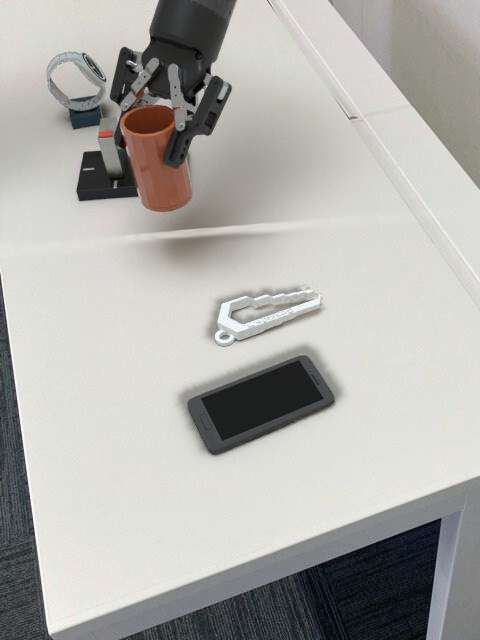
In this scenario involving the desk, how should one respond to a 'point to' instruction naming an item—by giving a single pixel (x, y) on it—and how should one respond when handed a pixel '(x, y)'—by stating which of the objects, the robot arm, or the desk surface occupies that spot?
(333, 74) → the desk surface
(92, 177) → the hob panel
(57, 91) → the watch
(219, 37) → the robot arm
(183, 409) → the desk surface
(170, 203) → the tumbler
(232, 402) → the cell phone
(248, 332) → the white stepped wedge frame
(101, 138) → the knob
